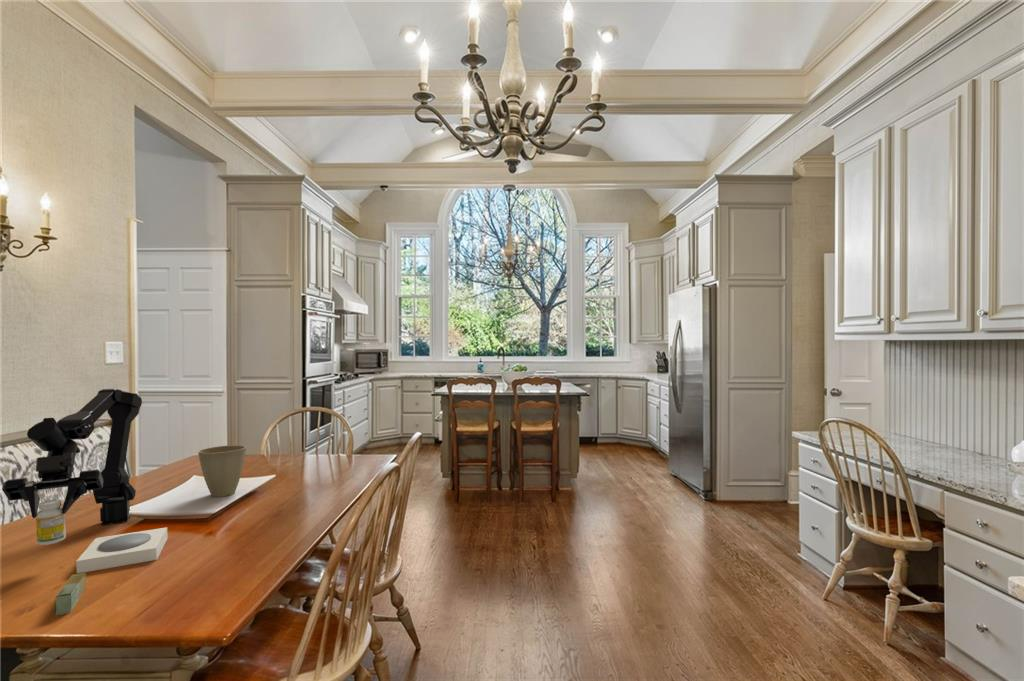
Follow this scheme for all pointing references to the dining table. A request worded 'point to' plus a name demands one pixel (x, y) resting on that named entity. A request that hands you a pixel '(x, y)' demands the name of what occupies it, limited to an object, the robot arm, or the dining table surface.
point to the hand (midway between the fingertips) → (48, 515)
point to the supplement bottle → (50, 523)
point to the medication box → (70, 594)
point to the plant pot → (222, 468)
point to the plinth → (122, 550)
